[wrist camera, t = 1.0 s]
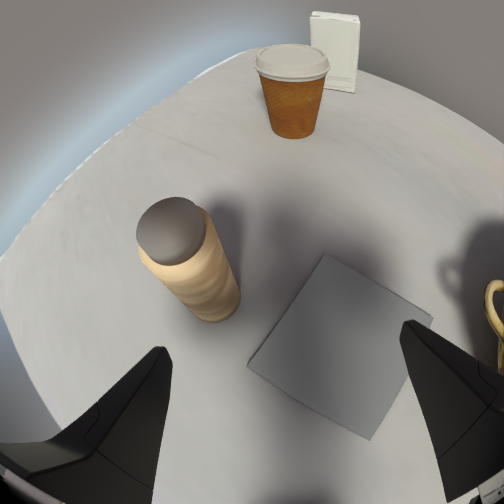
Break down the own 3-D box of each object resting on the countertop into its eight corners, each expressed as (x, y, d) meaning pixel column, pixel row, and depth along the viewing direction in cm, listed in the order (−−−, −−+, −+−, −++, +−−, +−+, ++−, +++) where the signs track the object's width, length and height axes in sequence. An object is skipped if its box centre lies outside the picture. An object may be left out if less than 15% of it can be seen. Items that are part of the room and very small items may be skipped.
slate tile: (367, 439, 18) (369, 440, 18) (247, 367, 23) (246, 366, 22) (430, 319, 23) (433, 317, 22) (324, 256, 27) (325, 253, 27)
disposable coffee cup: (264, 149, 35) (256, 70, 25) (257, 112, 40) (249, 45, 29) (333, 144, 35) (342, 67, 24) (316, 108, 40) (318, 42, 29)
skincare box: (354, 82, 44) (361, 16, 31) (354, 95, 41) (363, 22, 28) (312, 75, 46) (313, 9, 33) (309, 87, 43) (309, 14, 30)
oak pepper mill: (218, 332, 25) (167, 281, 14) (179, 302, 26) (114, 236, 15) (250, 290, 26) (227, 211, 15) (210, 264, 28) (168, 180, 17)
